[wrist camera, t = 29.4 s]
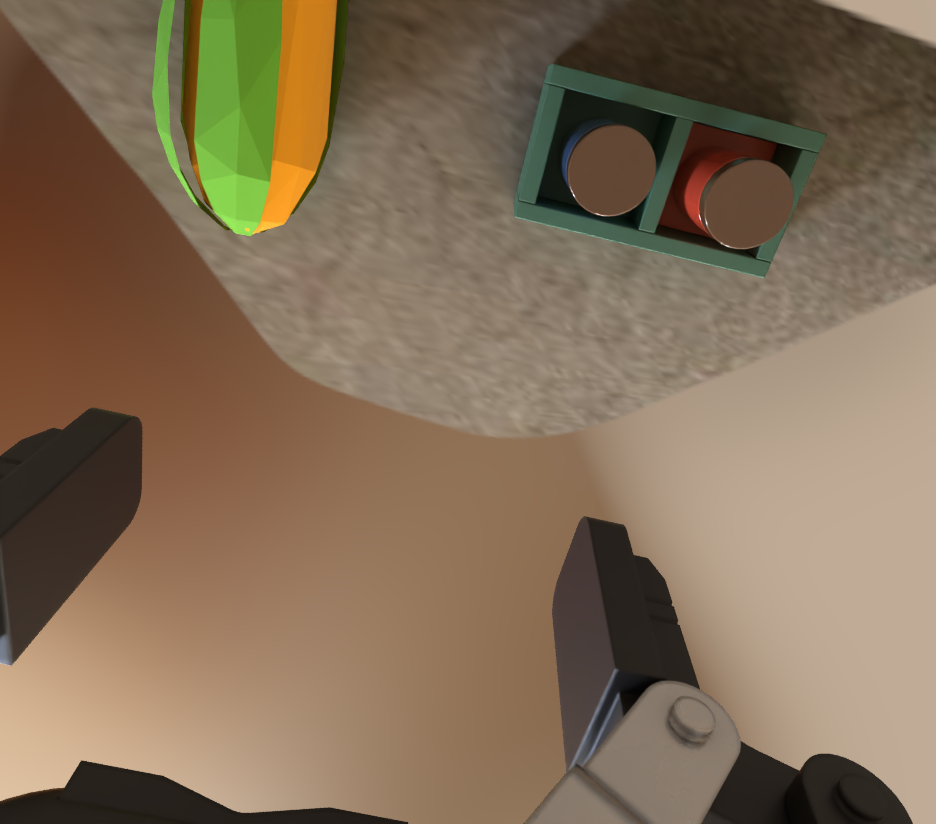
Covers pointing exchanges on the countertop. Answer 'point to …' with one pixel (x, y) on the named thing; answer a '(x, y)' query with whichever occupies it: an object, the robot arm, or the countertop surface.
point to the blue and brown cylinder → (606, 165)
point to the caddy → (673, 140)
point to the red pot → (733, 196)
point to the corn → (253, 102)
